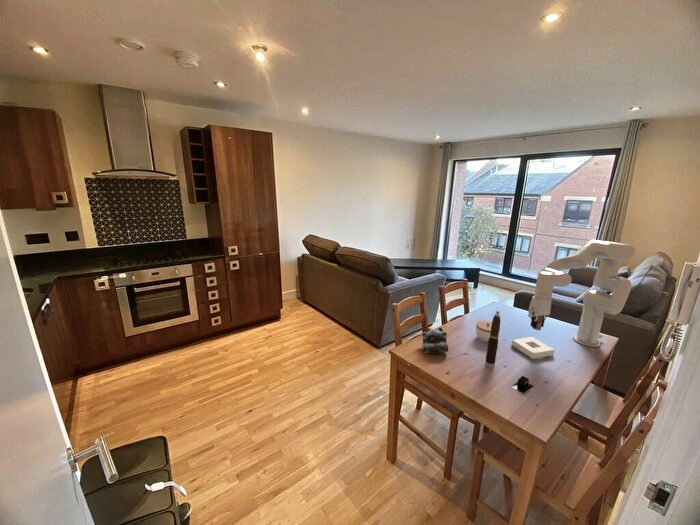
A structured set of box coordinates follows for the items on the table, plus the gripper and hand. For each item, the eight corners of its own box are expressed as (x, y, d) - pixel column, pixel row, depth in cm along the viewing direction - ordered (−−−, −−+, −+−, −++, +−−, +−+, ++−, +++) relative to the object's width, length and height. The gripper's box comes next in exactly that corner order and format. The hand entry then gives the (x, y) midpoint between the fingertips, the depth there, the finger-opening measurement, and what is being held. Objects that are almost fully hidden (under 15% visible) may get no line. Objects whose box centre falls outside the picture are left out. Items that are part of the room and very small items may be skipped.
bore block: (531, 342, 167) (532, 336, 166) (553, 356, 154) (554, 349, 153) (511, 346, 163) (512, 339, 162) (532, 360, 150) (533, 353, 149)
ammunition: (486, 361, 149) (494, 308, 141) (495, 364, 146) (504, 310, 138) (483, 365, 145) (491, 311, 138) (493, 368, 143) (502, 314, 135)
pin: (536, 326, 157) (538, 313, 155) (542, 329, 153) (545, 316, 151) (530, 327, 156) (532, 313, 154) (536, 330, 152) (539, 317, 150)
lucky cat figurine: (417, 353, 155) (416, 327, 159) (426, 352, 165) (425, 327, 168) (445, 354, 147) (443, 327, 150) (452, 353, 156) (450, 327, 159)
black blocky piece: (521, 378, 137) (522, 370, 135) (537, 386, 131) (539, 378, 130) (507, 387, 130) (508, 379, 129) (523, 397, 124) (525, 388, 123)
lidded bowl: (502, 342, 167) (505, 325, 164) (486, 346, 162) (488, 329, 159) (485, 332, 178) (487, 316, 175) (469, 336, 174) (472, 319, 171)
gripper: (548, 291, 155) (542, 321, 160) (524, 293, 151) (518, 325, 156) (562, 296, 148) (555, 327, 153) (536, 299, 144) (530, 331, 149)
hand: (536, 326), depth 154 cm, fingers closed on pin, 4 cm apart
